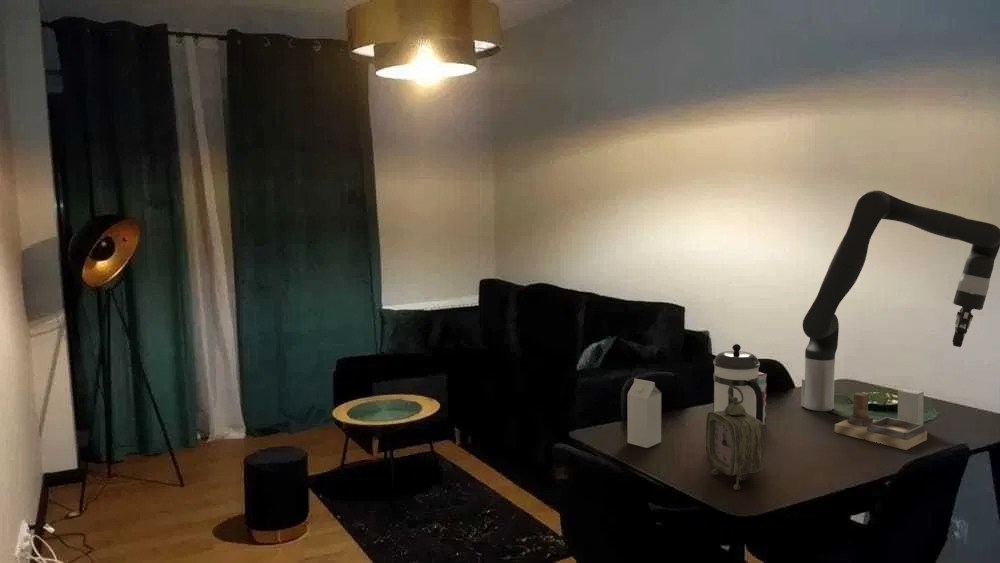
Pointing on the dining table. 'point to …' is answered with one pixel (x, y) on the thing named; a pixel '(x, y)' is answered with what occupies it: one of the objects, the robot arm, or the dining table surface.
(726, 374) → the coffee press
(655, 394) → the milk carton
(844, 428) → the wooden board
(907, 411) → the skincare box
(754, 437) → the tabletop clock
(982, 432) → the dining table surface
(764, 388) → the candy bar box
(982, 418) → the dining table surface
